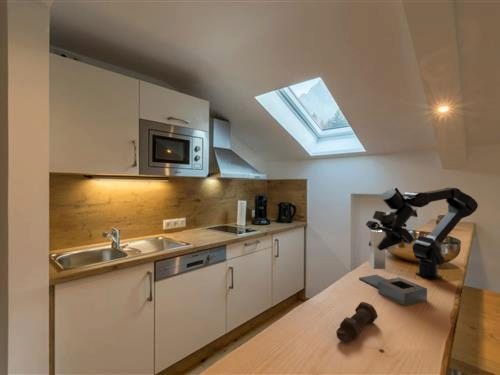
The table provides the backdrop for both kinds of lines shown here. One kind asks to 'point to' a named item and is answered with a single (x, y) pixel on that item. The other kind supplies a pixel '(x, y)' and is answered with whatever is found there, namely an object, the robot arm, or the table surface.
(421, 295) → the socket block
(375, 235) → the steel peg
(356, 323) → the bolt
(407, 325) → the table surface
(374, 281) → the rubber mat
